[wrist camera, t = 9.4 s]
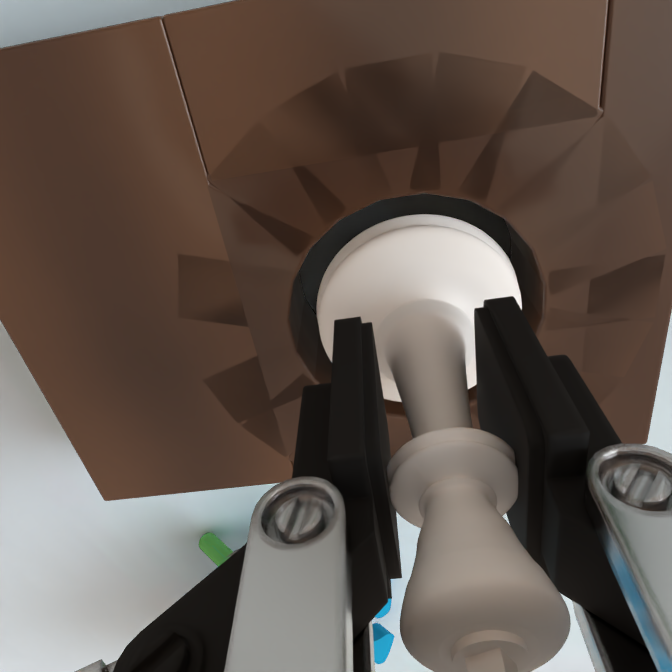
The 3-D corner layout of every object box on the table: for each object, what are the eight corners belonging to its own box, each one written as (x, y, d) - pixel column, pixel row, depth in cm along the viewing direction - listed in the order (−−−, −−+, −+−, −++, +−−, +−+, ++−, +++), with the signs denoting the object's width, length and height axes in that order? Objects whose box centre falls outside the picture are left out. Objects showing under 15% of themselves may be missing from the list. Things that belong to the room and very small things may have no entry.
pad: (143, 449, 19) (112, 517, 17) (-44, 62, 13) (-142, 77, 10) (601, 397, 18) (644, 463, 15) (658, -80, 11) (751, -104, 9)
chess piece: (276, 285, 13) (132, 824, 4) (457, 169, 11) (776, 655, 3) (384, 416, 15) (427, 954, 6) (551, 333, 13) (896, 898, 5)
